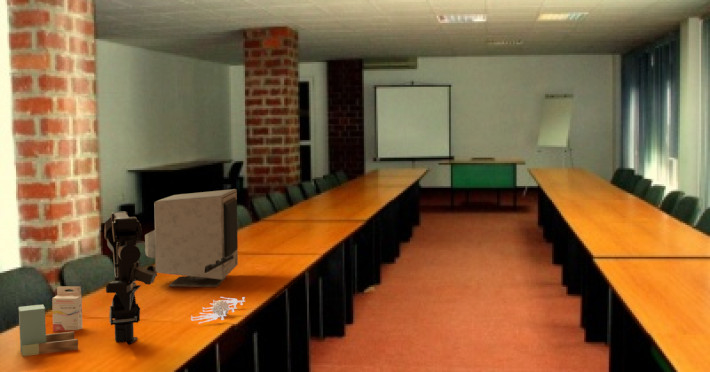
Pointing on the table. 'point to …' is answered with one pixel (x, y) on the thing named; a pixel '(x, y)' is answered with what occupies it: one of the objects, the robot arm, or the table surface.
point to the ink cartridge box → (67, 309)
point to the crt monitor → (195, 237)
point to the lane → (59, 343)
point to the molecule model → (221, 306)
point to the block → (32, 325)
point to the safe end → (30, 349)
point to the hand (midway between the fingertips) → (128, 310)
